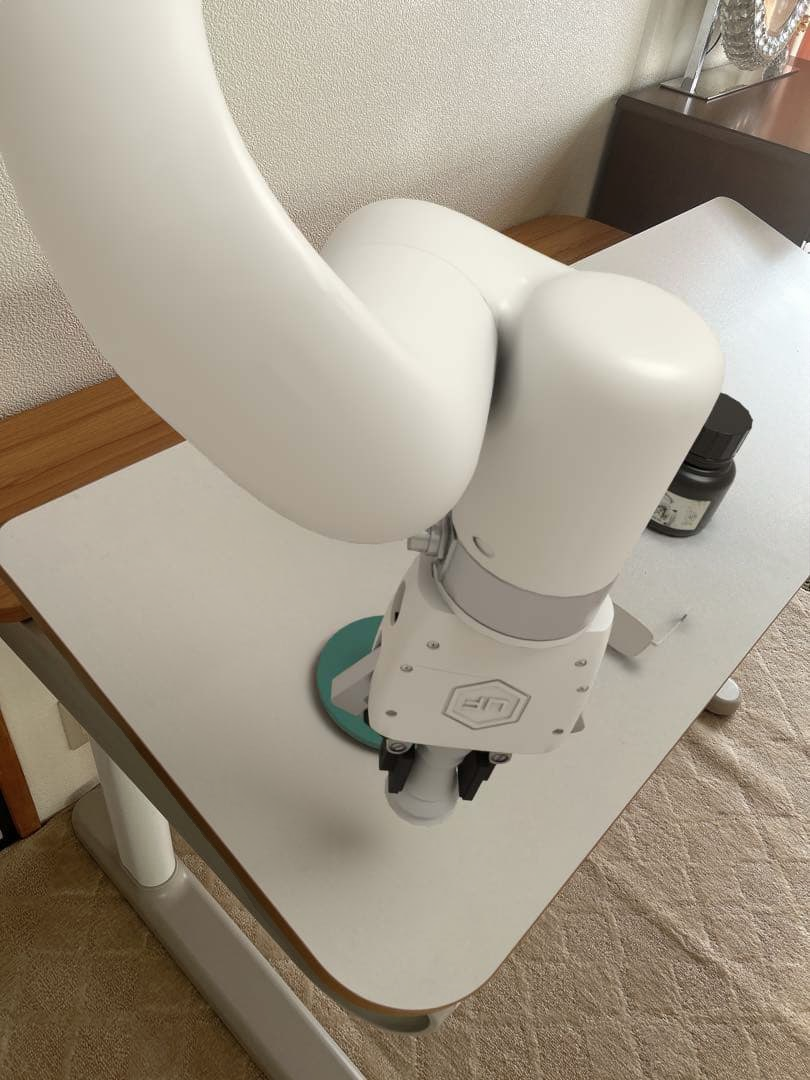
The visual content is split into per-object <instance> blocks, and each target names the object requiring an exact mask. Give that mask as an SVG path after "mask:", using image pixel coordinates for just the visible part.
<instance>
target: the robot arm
mask: <svg viewBox="0 0 810 1080" xmlns="http://www.w3.org/2000/svg"><path fill="white" fill-rule="evenodd" d="M203 10H204V9H203V0H0V154H1V158H2V161H3V164H4V167H5V170H6V172H7V175H8V178H9V180H10V183H11V186H12V188H13V191H14V194H15V196H16V199H17V202H18V203H19V205H20V207H21V210H22V212H23V213H24V214H23V215H24V216H25V218H26V221H27V222H28V224H29V227H30V229H31V231H32V233H33V235H34V237H35V239H36V241H37V243H38V245H39V247H40V249H41V251H42V253H43V255H44V256H45V259H46V261H47V263H48V265H49V267H50V269H51V271H52V273H53V275H54V277H55V279H56V281H57V283H58V285H59V287H60V289H61V291H62V293H63V295H64V296H65V298H66V300H67V302H68V303H69V305H70V307H71V309H72V310H73V312H74V313H75V316H76V317H77V319H78V321H79V323H80V325H82V327H83V328H84V331H86V333H87V335H88V337H90V339H91V341H92V342H93V344H94V345H95V347H96V349H97V350H98V351H99V353H101V355H102V356H103V357H104V359H105V360H106V361H107V362H108V364H109V365H110V366H111V367H112V369H113V370H114V372H116V374H117V375H118V376H119V377H120V378H121V380H122V381H124V383H125V384H126V385H127V386H128V388H130V389H131V390H132V391H133V392H134V394H136V395H137V396H138V398H140V399H141V400H142V402H144V403H145V404H146V405H147V406H148V407H149V408H150V409H152V411H154V412H155V413H156V414H157V415H158V416H159V417H160V418H162V419H163V421H165V422H166V423H167V424H168V425H169V426H170V427H171V428H173V429H174V430H175V431H176V432H177V433H178V434H180V435H181V436H182V437H183V438H184V439H185V440H186V441H187V442H188V443H189V444H190V445H192V446H193V447H194V448H195V449H196V450H197V451H198V452H199V453H200V454H201V455H203V456H204V457H205V458H206V459H207V460H208V461H209V462H211V463H212V465H214V466H215V467H216V468H217V469H218V470H219V471H221V472H222V473H223V474H224V475H225V476H226V477H228V478H229V479H230V480H231V481H232V482H233V483H235V484H236V485H237V486H238V487H240V488H241V489H243V490H244V491H245V492H247V493H248V494H249V495H251V496H252V497H253V498H255V499H256V500H257V501H258V502H259V503H261V504H263V505H264V506H266V507H267V508H268V509H270V510H272V511H273V512H274V513H276V514H277V515H279V516H281V517H283V518H284V519H287V520H288V521H290V522H292V523H294V524H296V525H298V526H299V527H301V528H303V529H305V530H307V531H310V532H313V533H315V534H318V535H320V536H323V537H325V538H328V539H330V540H335V541H340V542H346V543H350V544H356V545H381V544H389V543H395V542H400V541H404V540H406V548H407V549H406V550H407V551H411V552H418V554H417V555H416V556H415V558H414V559H413V561H412V562H411V564H409V567H408V568H407V569H406V571H405V573H404V575H403V576H402V578H401V580H400V582H399V584H398V586H397V588H396V589H395V592H394V593H393V595H392V597H391V598H390V601H389V603H388V606H387V608H386V610H385V613H384V614H383V615H384V617H383V619H382V622H381V624H380V627H379V629H378V632H377V635H376V638H375V640H374V644H373V647H372V652H371V653H369V654H368V655H367V656H365V657H364V658H362V659H361V660H359V661H358V662H356V663H355V664H354V665H352V666H351V667H349V668H348V669H346V670H345V671H343V672H342V673H341V674H339V675H338V676H336V677H335V678H334V679H333V680H332V691H331V703H332V704H333V705H335V706H337V707H339V708H341V709H343V710H345V711H347V712H349V713H351V714H353V715H355V716H357V715H360V716H362V717H363V721H364V723H365V724H366V725H368V726H369V727H370V728H371V729H373V730H374V731H375V732H376V733H378V734H379V735H380V736H381V737H383V739H382V742H381V745H380V749H379V750H378V771H383V772H387V775H388V793H394V794H398V793H399V792H402V790H403V787H404V785H405V783H406V780H407V778H408V775H409V773H410V771H411V768H412V766H413V764H414V761H415V743H418V744H426V745H435V746H444V747H452V748H462V749H471V750H472V751H471V752H469V753H468V754H467V755H465V757H464V759H463V761H462V762H461V763H460V764H459V765H457V768H456V771H457V774H458V789H459V798H461V800H462V801H468V802H472V801H473V800H474V798H475V797H476V794H477V792H478V791H479V789H480V787H481V785H482V783H483V782H487V781H488V780H489V779H490V777H491V776H492V773H493V771H494V770H495V768H496V766H497V765H504V764H507V763H509V762H510V761H511V759H512V756H513V754H514V755H515V754H516V755H542V754H547V753H551V752H553V751H555V750H556V749H558V748H559V747H561V746H562V744H563V743H564V742H565V741H566V740H567V738H568V737H569V735H570V734H574V733H579V732H582V731H583V730H584V729H585V728H586V727H585V726H586V725H585V719H584V714H583V709H584V707H585V705H586V703H587V701H588V698H589V696H590V695H591V692H592V690H593V687H594V686H595V685H594V684H595V682H596V680H597V677H598V674H599V671H600V669H601V665H602V663H603V658H604V656H605V652H606V649H607V646H608V644H607V643H608V639H609V635H610V631H611V627H612V622H613V617H614V608H613V604H612V601H613V600H612V599H611V595H610V591H611V590H612V588H613V586H614V584H615V582H616V580H617V579H618V577H619V575H620V573H621V571H622V569H623V568H624V566H625V565H626V562H627V561H628V560H629V558H630V556H631V554H632V553H633V550H634V549H635V548H636V545H637V543H638V541H639V540H640V538H641V536H642V535H643V533H644V531H645V529H646V527H647V526H648V525H647V524H648V522H649V521H650V519H651V517H652V515H653V514H654V512H655V510H656V508H657V506H658V505H659V503H660V501H661V499H662V498H663V496H664V494H665V492H666V491H667V489H668V487H669V485H670V484H671V482H672V480H673V478H674V476H675V475H676V473H677V471H678V469H679V468H680V466H681V464H682V462H683V461H684V459H685V457H686V455H687V454H688V452H689V450H690V448H691V447H692V445H693V443H694V441H695V439H696V438H697V436H698V434H699V432H700V431H701V429H702V427H703V425H704V424H705V422H706V420H707V418H708V417H709V415H710V413H711V411H712V409H713V407H714V405H715V402H716V400H717V398H718V396H719V394H720V392H721V393H722V388H723V385H724V380H725V375H726V361H725V355H724V354H725V353H724V350H723V345H722V344H721V341H720V339H719V337H718V335H717V334H716V332H715V331H714V329H713V328H712V326H711V325H710V323H709V322H708V320H706V319H705V318H704V317H703V316H702V315H701V314H700V313H699V312H698V310H696V309H695V308H694V307H692V306H691V305H690V304H688V303H687V302H686V301H684V300H683V299H681V298H680V297H678V296H676V295H675V294H673V293H671V292H669V291H667V290H666V289H664V288H662V287H659V286H657V285H655V284H652V283H650V282H647V281H645V280H642V279H638V278H636V277H632V276H628V275H625V274H620V273H615V272H608V271H601V270H600V271H598V270H579V269H576V268H574V267H572V266H570V265H566V264H565V263H562V262H560V261H558V260H556V259H553V258H552V257H550V256H547V255H545V254H543V253H541V252H539V251H537V250H534V249H533V248H531V247H529V246H527V245H526V244H523V243H521V242H519V241H516V240H515V239H512V238H511V237H509V236H508V235H505V234H504V233H501V232H500V231H497V230H496V229H494V228H492V227H489V226H488V225H486V224H484V223H483V222H480V221H478V220H476V219H474V218H472V217H470V216H468V215H466V214H463V213H461V212H459V211H457V210H455V209H451V208H450V207H447V206H444V205H441V204H438V203H434V202H431V201H427V200H422V199H414V198H407V197H397V198H396V197H394V198H387V199H382V200H377V201H373V202H370V203H368V204H366V205H364V206H361V207H360V208H358V209H357V210H355V211H353V212H351V213H350V214H349V215H347V216H346V217H345V218H344V219H343V220H342V221H341V222H340V223H339V224H338V225H337V227H335V229H333V231H332V233H331V234H330V235H329V237H328V238H327V239H326V241H325V243H324V245H322V248H321V250H320V252H319V253H318V252H317V250H316V249H315V248H314V246H312V245H311V243H310V242H309V240H308V239H307V238H306V237H305V235H304V234H303V233H302V232H301V231H300V229H299V228H298V227H297V225H296V224H295V223H294V222H293V220H292V218H291V217H290V216H289V214H288V213H287V211H286V210H285V209H284V207H283V206H282V204H281V202H279V200H278V198H277V197H276V196H275V194H274V193H273V191H272V189H271V188H270V187H269V184H268V183H267V181H266V180H265V178H264V176H263V175H262V173H261V171H260V169H259V167H258V166H257V164H256V162H255V160H254V159H253V158H252V157H253V156H252V155H251V154H250V152H249V150H248V149H247V146H246V144H245V142H244V139H243V137H242V135H241V134H240V131H239V129H238V127H237V125H236V123H235V120H234V118H233V116H232V114H231V112H230V109H229V106H228V104H227V101H226V98H225V95H224V93H223V90H222V87H221V84H220V81H219V79H218V76H217V72H216V70H215V66H214V62H213V58H212V53H211V51H210V50H211V49H210V46H209V41H208V37H207V30H206V23H205V18H204V11H203ZM611 600H612V601H611Z"/></svg>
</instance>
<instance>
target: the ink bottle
mask: <svg viewBox="0 0 810 1080" xmlns="http://www.w3.org/2000/svg"><path fill="white" fill-rule="evenodd" d="M753 422H754V419H753V417H752V415H751V413H750V411H749V409H747V408H746V407H745V406H744V405H743V404H742V403H741V402H740V401H739V400H737V399H735V398H734V397H732V396H731V395H729V394H727V393H724V392H722V391H721V392H720V394H719V396H718V398H717V400H716V402H715V405H714V407H713V409H712V411H711V413H710V415H709V417H708V418H707V420H706V422H705V424H704V425H703V427H702V429H701V431H700V432H699V434H698V436H697V438H696V439H695V441H694V443H693V445H692V447H691V448H690V450H689V452H688V454H687V455H686V457H685V459H684V461H683V462H682V464H681V466H680V468H679V469H678V471H677V473H676V475H675V476H674V478H673V480H672V482H671V484H670V485H669V487H668V489H667V491H666V492H665V494H664V496H663V498H662V499H661V501H660V503H659V505H658V506H657V508H656V510H655V512H654V514H653V515H652V517H651V519H650V521H649V522H648V524H647V526H649V527H650V528H652V529H655V530H656V531H659V533H660V532H661V533H663V534H667V535H669V536H677V537H685V536H686V537H687V536H691V535H695V534H697V533H700V532H701V531H703V530H705V528H706V527H707V526H708V525H709V523H710V522H711V520H712V519H713V518H714V515H715V513H716V512H717V510H718V509H719V507H720V505H721V503H722V502H723V500H725V499H724V498H725V497H726V495H727V493H728V492H729V490H730V489H731V487H732V485H733V483H734V481H735V479H736V476H737V466H736V462H735V460H734V458H735V457H736V455H737V454H738V453H739V451H740V449H741V448H742V446H743V445H744V442H745V440H747V437H748V435H750V433H751V430H752V428H753Z"/></svg>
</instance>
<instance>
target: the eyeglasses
mask: <svg viewBox="0 0 810 1080" xmlns="http://www.w3.org/2000/svg"><path fill="white" fill-rule="evenodd" d="M611 601H612V604H613V608H614V617H613V622H612V627H611V631H610V635H609V639H608V643H607V645H608V646H609V647H611V648H613V649H614V650H616V651H617V652H618V653H620V654H622V655H623V656H626V657H629V658H630V657H631V658H632V657H633V658H634V657H637V656H638V655H640V654H641V653H643V652H644V651H645V650H646V649H647V648H648V647H649V646H650V645H652V646H654V647H658V646H660V645H661V644H662V643H663V642H664V641H665V640H666V639H667V638H668V637H669V635H671V634H672V632H674V631H675V629H676V628H677V627H678V626H679V625H680V624H681V623H682V622H683V621H684V620H685V619H686V618H687V616H688V614H687V613H685V614H684V615H683V617H681V619H680V621H679V622H678V623H677V624H676V625H675V626H674V627H672V629H671V630H670V631H668V632H667V633H666V634H665V635H664V637H662V638H661V639H660V640H659V641H658V642H656V641H654V638H655V635H654V632H652V630H651V629H650V628H649V627H648V626H647V625H645V624H644V623H643V622H642V621H641V620H640V619H638V618H637V617H636V616H634V615H633V614H632V613H631V612H629V611H628V610H627V609H625V608H624V607H623V606H621V605H620V604H618V603H617V602H615V601H614V600H612V599H611Z"/></svg>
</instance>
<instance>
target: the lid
mask: <svg viewBox="0 0 810 1080" xmlns="http://www.w3.org/2000/svg"><path fill="white" fill-rule="evenodd" d="M384 615H385V614H382V615H373V616H368V617H364V618H359V619H357V620H355V621H352V622H350V623H348V624H347V625H345V626H343V627H342V628H340V629H339V630H338V631H337V632H335V633H334V634H333V635H332V636H331V637H330V638H329V640H328V641H327V642H326V644H325V646H324V647H323V649H322V651H321V653H320V655H319V659H318V662H317V666H316V675H315V677H316V689H317V693H318V696H319V699H320V701H321V704H322V706H323V707H324V709H325V711H326V713H327V714H328V715H329V717H330V718H331V719H332V721H333V722H334V723H335V724H336V725H337V726H338V727H339V728H340V729H341V730H342V731H343V732H344V733H346V734H347V735H348V736H350V737H352V738H353V739H354V740H357V741H358V742H359V743H362V744H364V745H366V746H368V747H370V748H373V749H377V750H380V745H381V742H382V739H383V737H381V736H380V735H379V734H378V733H376V732H375V731H374V730H373V729H371V728H370V727H369V726H368V725H366V724H365V723H364V721H363V717H362V716H360V715H357V716H355V715H353V714H351V713H349V712H347V711H345V710H343V709H341V708H339V707H337V706H335V705H333V704H332V703H331V691H332V680H333V679H334V678H335V677H336V676H338V675H339V674H341V673H342V672H343V671H345V670H346V669H348V668H349V667H351V666H352V665H354V664H355V663H356V662H358V661H359V660H361V659H362V658H364V657H365V656H367V655H368V654H369V653H371V652H372V647H373V644H374V640H375V638H376V635H377V632H378V629H379V627H380V624H381V622H382V619H383V617H384ZM416 747H417V743H415V749H416Z"/></svg>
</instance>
